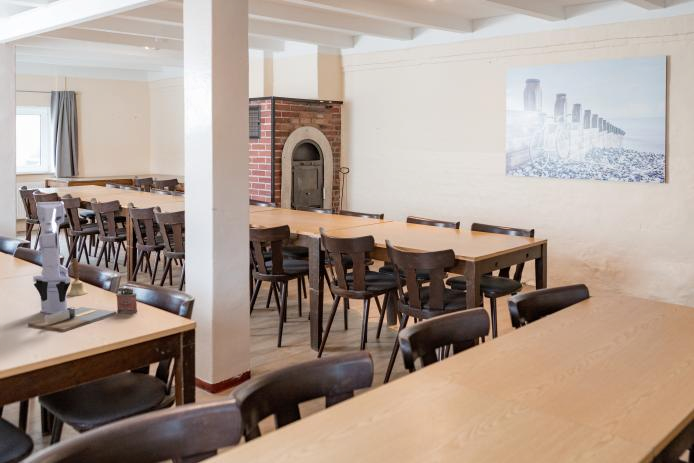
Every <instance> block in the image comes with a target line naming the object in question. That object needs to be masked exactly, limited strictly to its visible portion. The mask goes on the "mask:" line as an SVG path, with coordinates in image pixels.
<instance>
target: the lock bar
mask: <svg viewBox="0 0 694 463" xmlns="http://www.w3.org/2000/svg"><path fill="white" fill-rule="evenodd" d="M75 309H76V308H75V307H73V306H71V307H67V310H63V311H60V312H57V313H53V314H51V313H49V314H48V315H44V319H45V324H48V325H49V324H52V323H55V322H58V321H61V320H64V319H67V318H73V317H75Z"/></svg>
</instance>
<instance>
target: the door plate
mask: <svg viewBox="0 0 694 463" xmlns="http://www.w3.org/2000/svg"><path fill="white" fill-rule="evenodd" d="M114 315H117V311H113V310H106V309H99V308H90V307H82V306H81V307H79V308H75V317H73V318H74V319H81V320H89V323H88V324H90V323H94V322H97V321H99V320H102V319H106V318H109V317H112V316H114Z"/></svg>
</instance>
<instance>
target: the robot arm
mask: <svg viewBox="0 0 694 463" xmlns="http://www.w3.org/2000/svg"><path fill="white" fill-rule="evenodd" d="M36 215H37V217H38V221H39V224H41V226H40V227H41V228H40V235H39V236H38V246H39V249H40V255H41V264H42V265H41V266H42V270H41V275H34V276H32V282H34V283H33V286H34V287H35V289H36V290H37V291H38V294H39V296H40V306H41V310H39V313H46V314H53V313H57V312H60V311H63V310H67V308H68V304H67V301H68V300H67V294H68V293H67V292H68V290H69V288H70V285H71V283H72V282H71V276H69V271H68V269H67V267H65V266H63V265H62V264H61V259H60V258H61V254H60V240H59V239H60V238H59V237H60V236H59V229H60V225H61V224H63V223H64V222H65V203H64V201H62V200H60V201H42V202H40V201H38V202H36Z"/></svg>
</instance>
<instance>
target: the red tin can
mask: <svg viewBox="0 0 694 463" xmlns="http://www.w3.org/2000/svg"><path fill="white" fill-rule="evenodd" d="M118 292H119V293H118ZM115 296H116V303H117V304H116V305H117V310H116V313H117V312H118V313H117V314H136V313H138V308H137V307H138V306H137V293H136V292H134V288H132V287H128V286H126V287H118V288H117V293H116V294H115Z"/></svg>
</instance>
